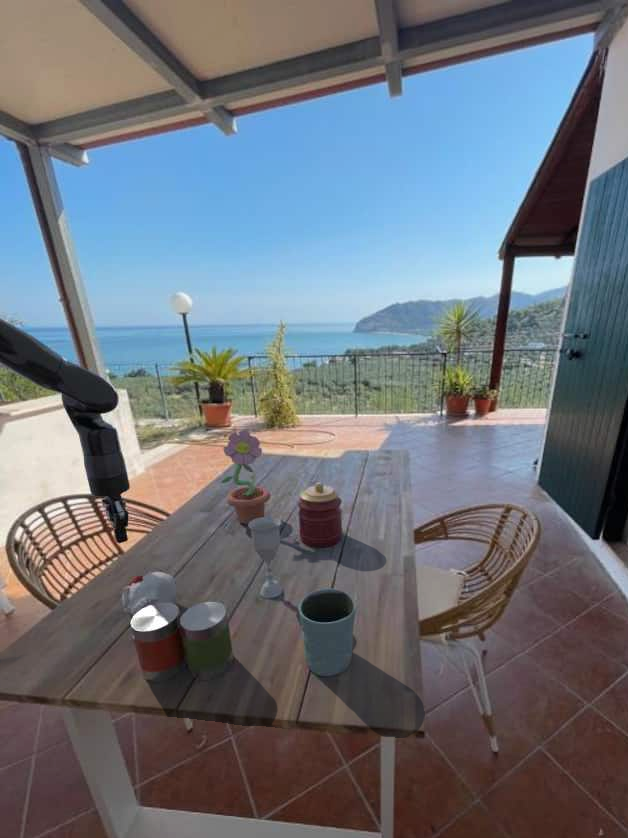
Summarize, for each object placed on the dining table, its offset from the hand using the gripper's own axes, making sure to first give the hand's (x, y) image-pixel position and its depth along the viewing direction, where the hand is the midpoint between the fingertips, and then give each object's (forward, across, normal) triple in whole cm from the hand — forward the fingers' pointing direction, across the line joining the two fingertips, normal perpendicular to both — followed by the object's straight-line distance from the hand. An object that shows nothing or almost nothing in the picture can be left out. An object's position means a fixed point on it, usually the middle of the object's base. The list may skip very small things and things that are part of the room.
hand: (122, 541), depth 91 cm
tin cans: (+12, +35, 0) cm, 37 cm away
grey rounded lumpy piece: (+12, +13, 0) cm, 18 cm away
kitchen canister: (+12, +13, +49) cm, 52 cm away
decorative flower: (+12, -13, +39) cm, 43 cm away
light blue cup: (+12, +52, +20) cm, 57 cm away
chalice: (+12, +26, +23) cm, 37 cm away
